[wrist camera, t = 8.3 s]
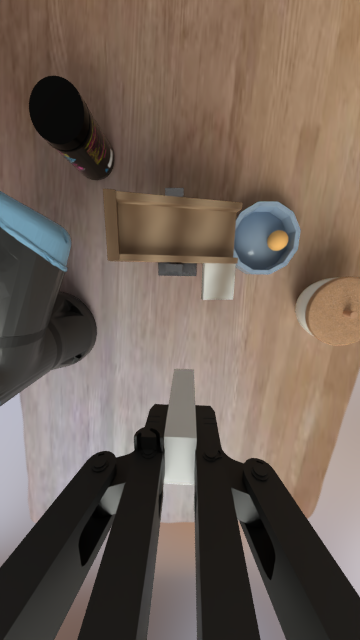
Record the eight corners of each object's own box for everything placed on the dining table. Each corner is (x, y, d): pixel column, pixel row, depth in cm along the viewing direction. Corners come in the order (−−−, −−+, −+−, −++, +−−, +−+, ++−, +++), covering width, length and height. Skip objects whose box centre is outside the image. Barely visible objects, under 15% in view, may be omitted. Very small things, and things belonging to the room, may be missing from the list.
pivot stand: (159, 275, 38) (149, 276, 29) (158, 205, 35) (147, 182, 26) (196, 275, 37) (198, 277, 28) (198, 205, 35) (201, 181, 26)
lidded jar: (312, 264, 36) (354, 261, 27) (356, 297, 37) (411, 305, 28) (273, 311, 38) (299, 324, 29) (315, 342, 39) (353, 363, 30)
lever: (113, 300, 29) (110, 303, 26) (106, 197, 26) (102, 188, 23) (230, 298, 33) (238, 301, 30) (236, 208, 30) (247, 201, 27)
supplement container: (76, 133, 33) (27, 72, 23) (117, 138, 33) (85, 79, 23) (76, 179, 35) (30, 141, 24) (115, 184, 34) (84, 147, 24)
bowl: (224, 273, 37) (227, 273, 34) (228, 208, 34) (232, 201, 31) (284, 274, 37) (294, 274, 33) (293, 208, 34) (304, 201, 31)
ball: (287, 249, 32) (285, 251, 34) (290, 227, 31) (288, 231, 34) (266, 250, 33) (265, 251, 36) (268, 229, 32) (268, 232, 35)
